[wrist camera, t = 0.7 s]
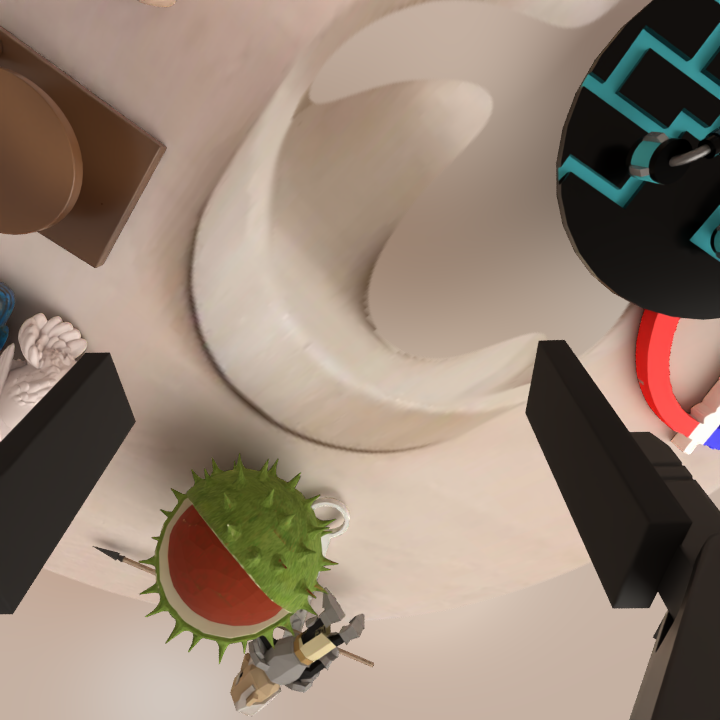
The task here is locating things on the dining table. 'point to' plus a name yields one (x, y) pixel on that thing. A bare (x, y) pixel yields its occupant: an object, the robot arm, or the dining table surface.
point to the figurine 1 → (5, 311)
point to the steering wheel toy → (706, 421)
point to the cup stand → (66, 157)
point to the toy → (286, 654)
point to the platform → (649, 161)
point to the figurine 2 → (35, 366)
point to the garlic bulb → (159, 2)
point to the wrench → (300, 616)
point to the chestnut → (238, 556)
